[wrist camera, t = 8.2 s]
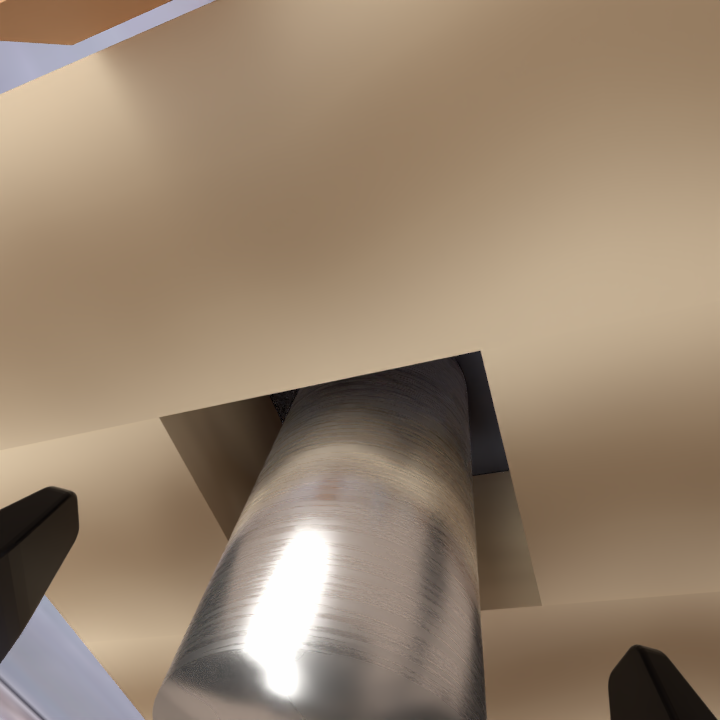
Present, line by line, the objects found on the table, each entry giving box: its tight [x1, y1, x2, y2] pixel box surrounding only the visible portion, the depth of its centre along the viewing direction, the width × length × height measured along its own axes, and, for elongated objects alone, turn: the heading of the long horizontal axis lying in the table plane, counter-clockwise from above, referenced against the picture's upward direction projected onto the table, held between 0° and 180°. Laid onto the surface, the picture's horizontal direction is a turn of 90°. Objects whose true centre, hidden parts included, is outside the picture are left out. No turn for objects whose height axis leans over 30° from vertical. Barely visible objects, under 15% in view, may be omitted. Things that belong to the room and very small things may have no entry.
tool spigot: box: [152, 356, 487, 720], centre depth 10 cm, size 4×4×8 cm
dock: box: [0, 0, 720, 720], centre depth 12 cm, size 16×16×4 cm
